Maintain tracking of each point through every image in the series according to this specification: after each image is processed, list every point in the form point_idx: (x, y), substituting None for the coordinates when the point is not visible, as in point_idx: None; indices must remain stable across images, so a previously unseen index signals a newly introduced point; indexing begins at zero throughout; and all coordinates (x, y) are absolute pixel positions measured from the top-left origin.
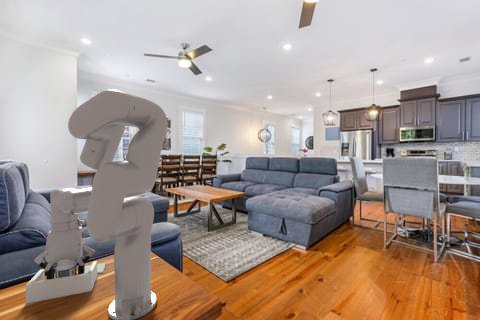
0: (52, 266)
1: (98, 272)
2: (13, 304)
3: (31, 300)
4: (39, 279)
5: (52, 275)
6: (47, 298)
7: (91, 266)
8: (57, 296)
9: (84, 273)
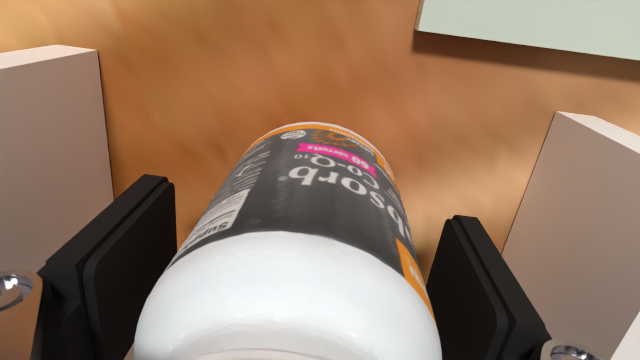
0: (65, 336)
1: (633, 59)
2: None
3: None
4: (26, 238)
5: (148, 270)
6: None
7: (620, 357)
8: None
9: (481, 5)
